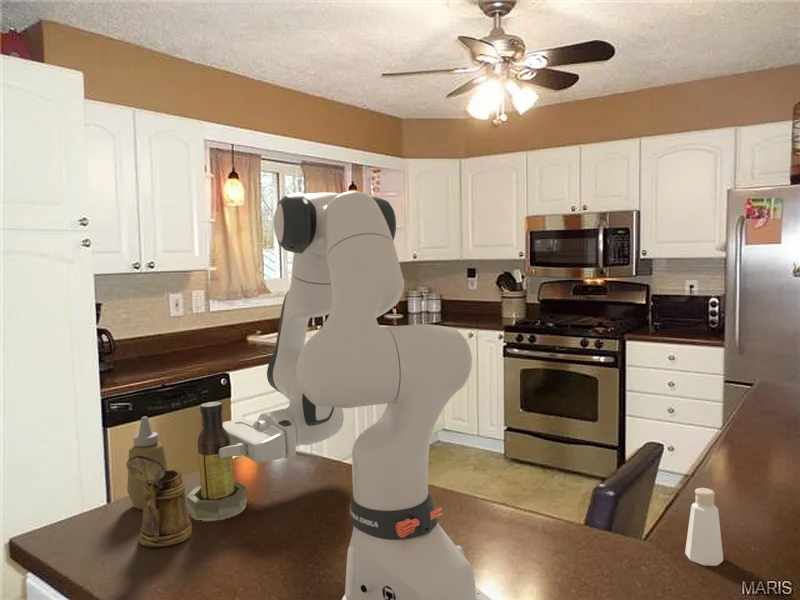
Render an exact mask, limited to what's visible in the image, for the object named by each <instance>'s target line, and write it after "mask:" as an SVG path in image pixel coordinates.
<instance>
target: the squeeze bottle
mask: <svg viewBox="0 0 800 600" xmlns="http://www.w3.org/2000/svg"><path fill="white" fill-rule="evenodd" d="M132 440H133V441H132V442H133V446H132V447H130V448H129V449H128V460H129V459H131V458H133V457H135V456H137V455H138V456H144V457H147V458H151V459H153V460H155V461H157V462H159V463H160V464H161V465H162V466H163V468H164V470H169V469H168V463H167V457H166V451H165V446H164V444H163V443H162V442H159V433H158V432H155V431H152V427H151V423H150V420H149V417H148V416H142V417H141V419H140V424H139V430H138V434H135V435H134V436H133V438H132ZM144 485H145V483H144V482H143V481H141V480H139V479H137V478H135V477H134V476H132V475H131V474H130V472H129V471H128V470H127V486H126V487H127V488H126V489H127V491H126V492H127V493H128V496H129V499H130V500H131V503H132V505H133V506H134V509H137V510H141V511H143V508H144V496H143V489H144Z"/></svg>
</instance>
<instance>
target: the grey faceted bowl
mask: <svg viewBox="0 0 800 600" xmlns="http://www.w3.org/2000/svg"><path fill="white" fill-rule="evenodd" d="M247 492H248V491H247V486H245V485H243V484H241V483H239V482H238V481H234V495H233V496H230V497H227V498H223V499H220V500H203V499H202V495H201V485H200V486H199V485H198V486H196V487H195V488H194V489H192V490H191V491H190V493H189V494H187V496H186V503H187V508H188V514H189V518H190V519H193V518H194V519H193V520H194V521H195V520H196V521H199V520H202V521H201V522H216V521H217V520H218V521H223V520H226V518H227V519H230V518H232V517H235V516H237V515H239V514H241V513H243V511H244V510H245V509H246V507H247V502H248V497H247V495H248V494H247Z"/></svg>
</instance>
